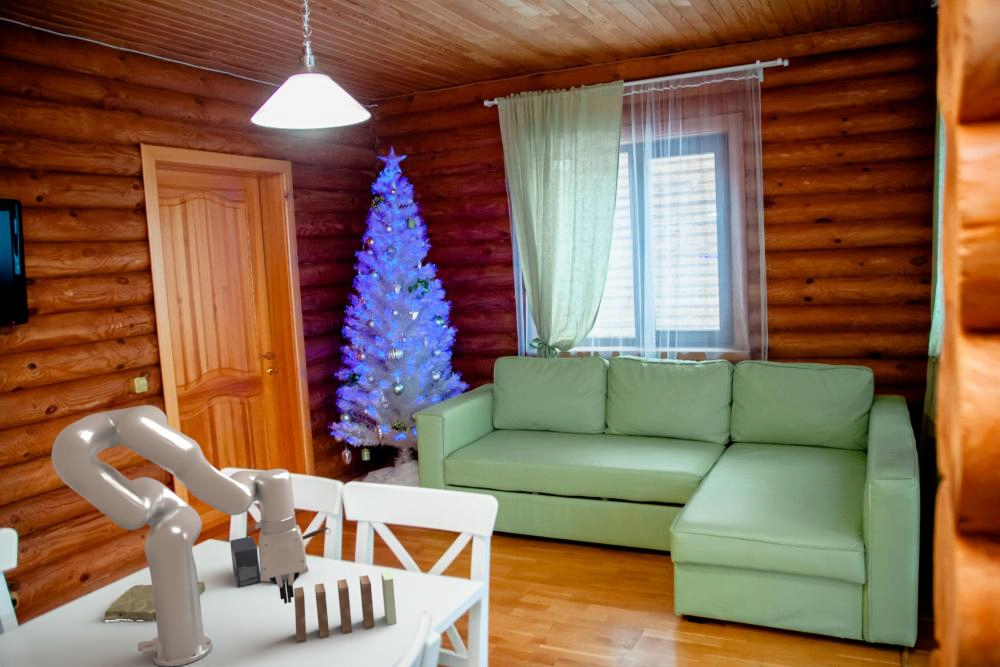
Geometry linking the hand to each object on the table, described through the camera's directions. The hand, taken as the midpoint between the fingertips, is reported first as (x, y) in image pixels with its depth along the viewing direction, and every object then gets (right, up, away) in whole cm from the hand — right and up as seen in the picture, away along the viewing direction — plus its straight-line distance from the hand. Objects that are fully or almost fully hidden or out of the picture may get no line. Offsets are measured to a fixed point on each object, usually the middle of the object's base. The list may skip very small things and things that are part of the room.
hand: (287, 600), depth 184 cm
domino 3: (+13, -8, +5) cm, 16 cm away
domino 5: (+23, -7, +8) cm, 25 cm away
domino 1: (+3, -9, +2) cm, 10 cm away
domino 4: (+18, -8, +6) cm, 20 cm away
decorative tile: (-41, -10, +25) cm, 49 cm away
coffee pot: (-7, -6, +37) cm, 39 cm away
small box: (-22, -7, +39) cm, 45 cm away
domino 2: (+8, -9, +3) cm, 12 cm away
